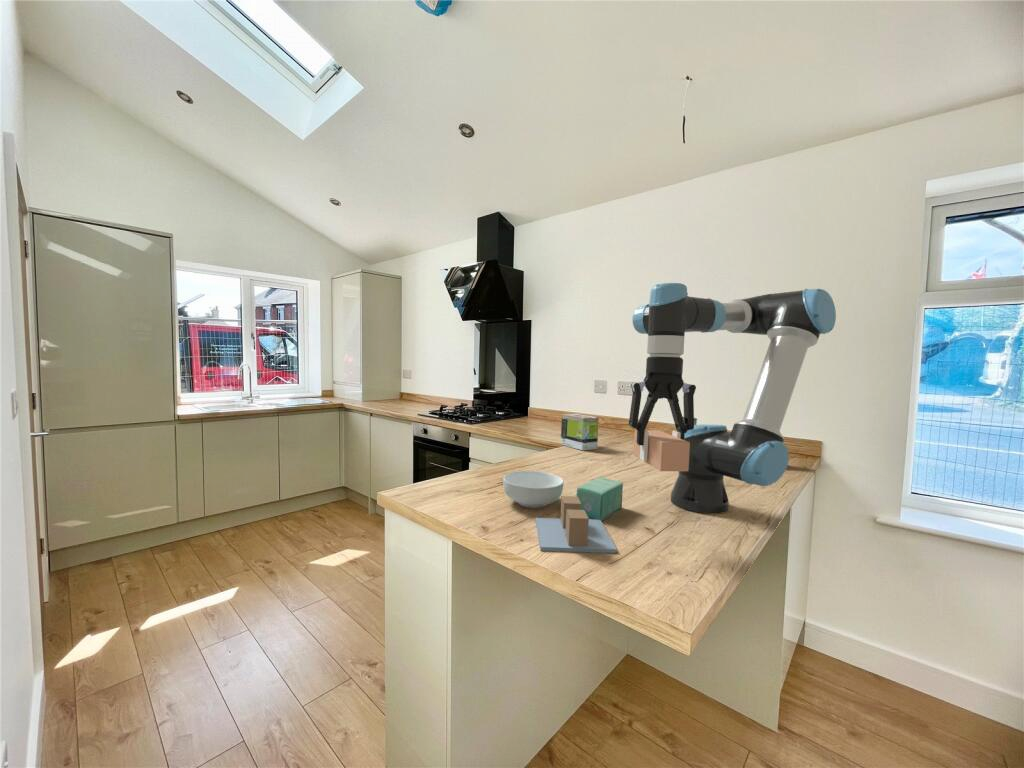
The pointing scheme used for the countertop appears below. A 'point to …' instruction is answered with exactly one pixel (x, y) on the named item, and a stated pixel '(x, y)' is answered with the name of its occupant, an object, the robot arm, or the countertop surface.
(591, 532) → the base
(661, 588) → the countertop surface
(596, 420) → the tea box
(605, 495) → the box
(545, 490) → the cereal bowl
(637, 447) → the beam
